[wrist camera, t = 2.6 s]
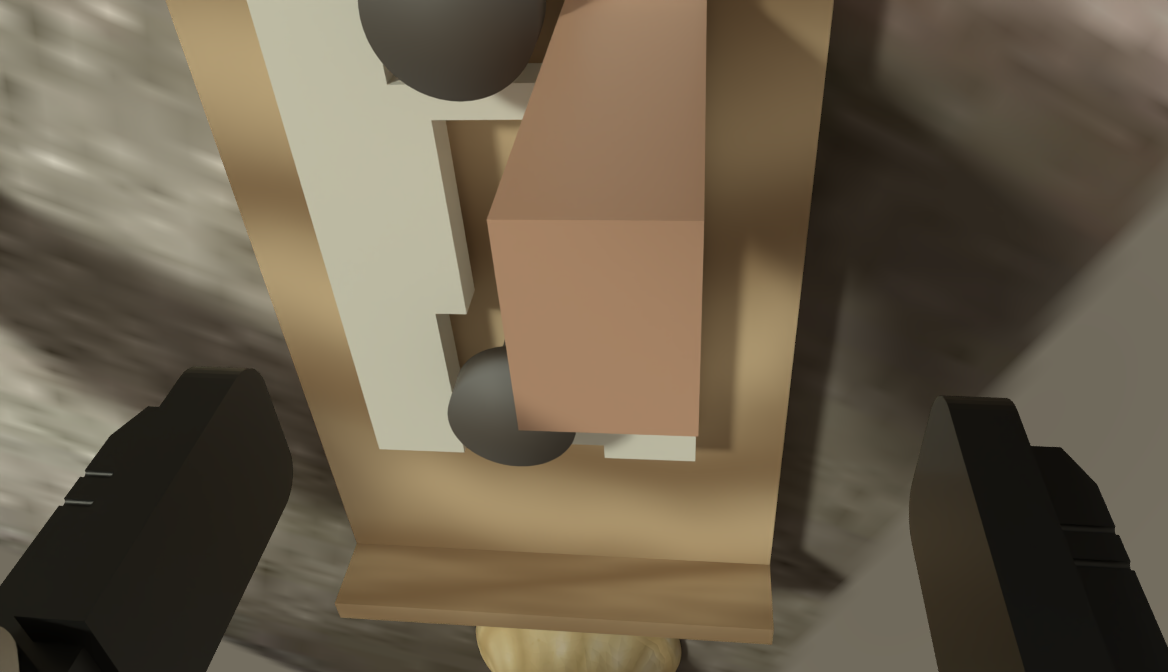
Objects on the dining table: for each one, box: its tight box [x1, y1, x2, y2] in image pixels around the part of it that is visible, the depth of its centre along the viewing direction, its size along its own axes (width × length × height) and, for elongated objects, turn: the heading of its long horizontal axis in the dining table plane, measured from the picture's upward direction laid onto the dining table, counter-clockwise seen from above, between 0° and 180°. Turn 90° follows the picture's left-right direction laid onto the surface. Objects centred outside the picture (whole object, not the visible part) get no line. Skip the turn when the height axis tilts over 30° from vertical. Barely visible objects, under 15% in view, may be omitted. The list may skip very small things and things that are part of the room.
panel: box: [247, 0, 707, 461], centre depth 16 cm, size 21×9×9 cm, turn 3°
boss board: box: [166, 0, 834, 644], centre depth 21 cm, size 28×14×4 cm, turn 3°
